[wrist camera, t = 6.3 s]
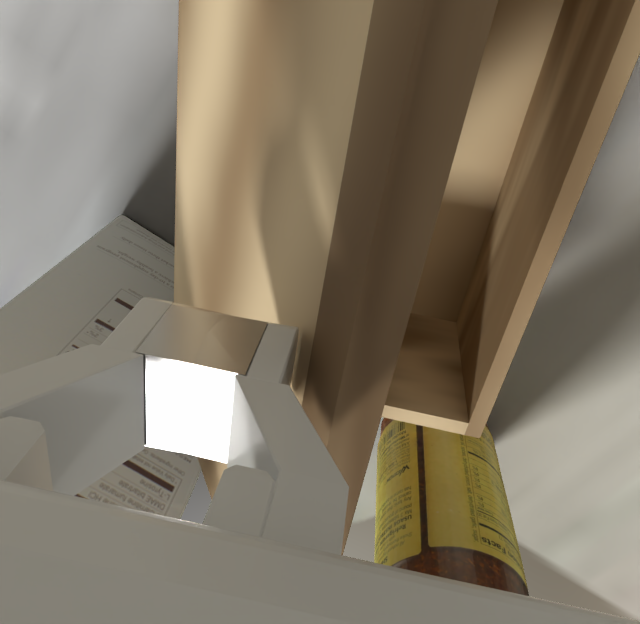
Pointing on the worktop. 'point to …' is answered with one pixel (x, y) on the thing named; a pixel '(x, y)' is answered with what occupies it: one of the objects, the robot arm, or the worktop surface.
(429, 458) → the sauce bottle
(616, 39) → the bread box
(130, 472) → the supplement box
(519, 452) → the worktop surface
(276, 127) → the lid
